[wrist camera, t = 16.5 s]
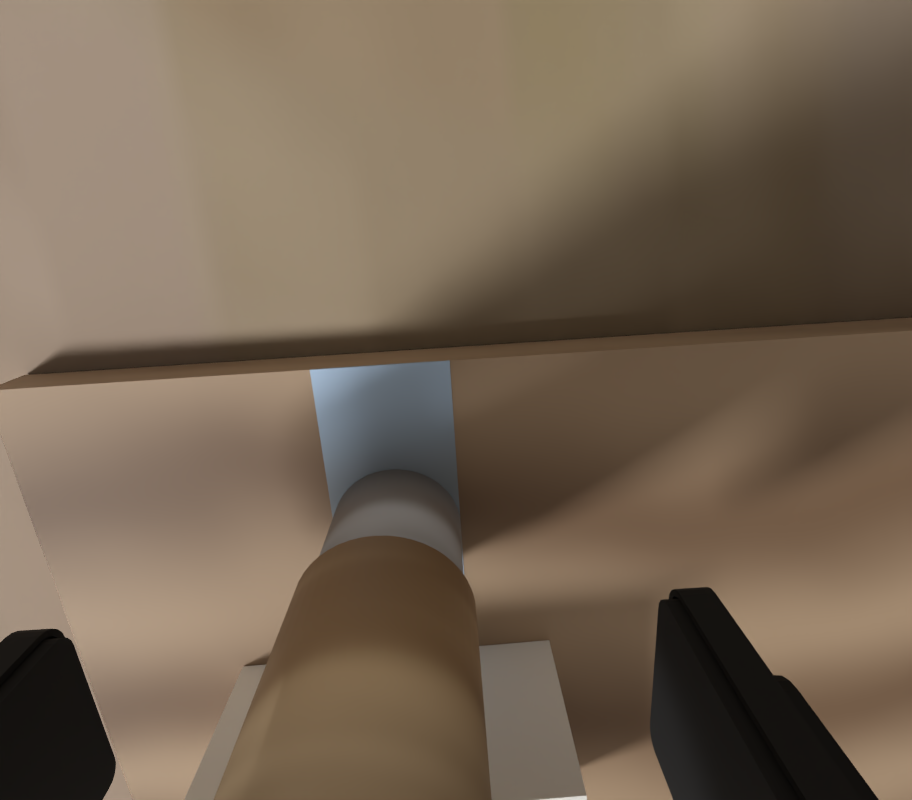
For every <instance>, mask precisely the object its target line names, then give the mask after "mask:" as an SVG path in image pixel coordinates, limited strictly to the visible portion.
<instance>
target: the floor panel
mask: <svg viewBox="0 0 912 800" xmlns="http://www.w3.org/2000/svg"><path fill="white" fill-rule="evenodd" d="M0 435H1V438H2V441H3V443H4V446H5V449H6V452H7V454H8V457H9V460H10V463H11V466H12V468H13V471H14V474H15V477H16V479H17V482H18V485H19V488H20V490H21V493H22V496H23V499H24V501H25V504H26V507H27V510H28V512H29V515H30V518H31V521H32V523H33V526H34V529H35V532H36V535H37V537H38V540H39V543H40V546H41V548H42V551H43V554H44V557H45V559H46V562H47V565H48V568H49V570H50V573H51V576H52V579H53V581H54V584H55V587H56V590H57V593H58V595H59V598H60V601H61V604H62V606H63V609H64V612H65V615H66V617H67V620H68V623H69V626H70V628H71V631H72V634H73V637H74V639H75V642H76V645H77V648H78V651H79V653H80V656H81V659H82V662H83V664H84V667H85V670H86V673H87V675H88V678H89V681H90V684H91V686H92V689H93V692H94V695H95V697H96V700H97V703H98V706H99V709H100V711H101V714H102V717H103V720H104V722H105V725H106V728H107V731H108V733H109V736H110V739H111V742H112V744H113V747H114V750H115V753H116V755H117V758H118V761H119V764H120V766H121V769H122V772H123V775H124V778H125V780H126V783H127V786H128V789H129V791H130V794H131V797H132V800H184V799H185V797H186V795H187V792H188V790H189V788H190V786H191V783H192V781H193V779H194V777H195V774H196V772H197V770H198V767H199V765H200V763H201V761H202V758H203V756H204V754H205V752H206V749H207V747H208V745H209V743H210V740H211V738H212V736H213V734H214V731H215V729H216V727H217V724H218V722H219V720H220V718H221V715H222V713H223V711H224V709H225V706H226V704H227V702H228V700H229V697H230V695H231V693H232V691H233V688H234V686H235V684H236V682H237V679H238V677H239V675H240V672H241V670H242V668H243V666H254V665H265V664H267V661H268V659H269V656H270V654H271V651H272V648H273V646H274V643H275V641H276V638H277V636H278V633H279V630H280V628H281V625H282V623H283V620H284V618H285V615H286V612H287V610H288V607H289V605H290V602H291V600H292V597H293V595H294V592H295V589H296V587H297V584H298V582H299V580H300V578H301V576H302V575H303V573H304V572H305V570H306V569H307V568H308V567H309V565H310V564H311V563H312V562H313V561H314V560H316V559H317V558H318V557H319V555H320V552H321V550H322V547H323V544H324V541H325V538H326V536H327V533H328V530H329V527H330V525H331V522H332V519H333V516H334V513H335V511H336V508H337V505H338V503H339V501H340V499H341V497H342V496H343V494H344V493H345V492H346V491H347V489H349V488H350V487H351V486H352V485H353V484H354V483H355V482H357V481H358V480H360V479H361V478H363V477H365V476H367V475H370V474H372V473H375V472H379V471H384V470H397V469H400V470H409V471H413V472H417V473H420V474H422V475H425V476H427V477H429V478H431V479H433V480H434V481H436V482H437V483H439V484H440V485H441V486H442V487H443V488H444V489H445V490H446V491H447V492H448V493H449V494H450V496H451V497H452V499H453V500H454V502H455V504H456V506H457V508H458V512H459V515H460V522H461V540H462V558H463V574H464V576H465V577H466V579H467V580H468V582H469V585H470V587H471V589H472V592H473V595H474V598H475V605H476V614H477V627H478V639H479V646H486V645H497V644H509V643H520V642H532V641H544V640H549V642H550V646H551V650H552V654H553V658H554V662H555V667H556V671H557V675H558V679H559V683H560V687H561V691H562V696H563V700H564V704H565V708H566V712H567V716H568V720H569V724H570V729H571V733H572V737H573V741H574V745H575V749H576V753H577V758H578V762H579V766H580V770H581V774H582V778H583V782H584V786H585V791H586V795H587V800H673V798H672V795H671V793H670V790H669V788H668V785H667V782H666V780H665V777H664V775H663V772H662V769H661V767H660V764H659V762H658V759H657V757H656V754H655V751H654V748H653V744H652V740H651V734H650V715H651V702H652V688H653V674H654V660H655V646H656V632H657V618H658V606H659V602H660V600H664V599H669V594H670V592H671V590H673V589H683V588H699V587H709V588H711V589H712V590H713V591H714V592H715V593H716V594H717V596H718V597H719V599H720V600H721V602H722V603H723V604H724V606H725V607H726V609H727V610H728V611H729V613H730V614H731V616H732V617H733V619H734V620H735V621H736V623H737V624H738V626H739V627H740V628H741V630H742V631H743V633H744V634H745V636H746V637H747V638H748V640H749V641H750V643H751V644H752V645H753V647H754V648H755V650H756V651H757V653H758V654H759V655H760V657H761V658H762V660H763V661H764V662H765V664H766V665H767V667H768V668H769V670H770V671H771V672H772V674H773V675H782V676H783V677H785V678H787V679H788V680H790V681H791V682H792V684H793V685H794V686H795V687H796V688H797V689H798V690H799V692H800V693H801V694H802V696H803V697H804V698H805V700H806V701H807V703H808V704H809V705H810V707H811V708H812V709H813V711H814V712H815V713H816V715H817V716H818V717H819V719H820V720H821V722H822V723H823V724H824V726H825V727H826V728H827V730H828V731H829V732H830V734H831V735H832V737H833V738H834V739H835V741H836V742H837V743H838V745H839V746H840V747H841V749H842V750H843V751H844V753H845V754H846V756H847V757H848V758H849V760H850V761H851V762H852V764H853V765H854V766H855V768H856V769H857V770H858V772H859V773H860V775H861V776H862V777H863V779H864V780H865V781H866V783H867V784H868V785H869V787H870V788H871V790H872V791H873V792H874V794H875V795H876V796H877V798H878V799H879V800H912V317H910V318H894V319H879V320H863V321H848V322H833V323H817V324H802V325H786V326H771V327H756V328H740V329H725V330H709V331H694V332H679V333H663V334H648V335H633V336H617V337H602V338H586V339H571V340H556V341H540V342H525V343H509V344H494V345H479V346H463V347H448V348H432V349H417V350H402V351H386V352H371V353H355V354H340V355H325V356H309V357H294V358H278V359H263V360H248V361H232V362H217V363H201V364H186V365H171V366H155V367H140V368H124V369H109V370H94V371H78V372H63V373H47V374H32V375H24V376H21V377H18V378H16V379H13V380H11V381H8V382H6V383H3V384H1V385H0Z"/></svg>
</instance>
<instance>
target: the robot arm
mask: <svg viewBox="0 0 912 800" xmlns="http://www.w3.org/2000/svg"><path fill="white" fill-rule="evenodd" d="M650 734H651V740H652V744H653V748H654V751H655V754H656V757H657V759H658V762H659V764H660V767H661V769H662V772H663V775H664V777H665V780H666V782H667V785H668V788H669V790H670V793H671V795H672V798H673V800H879V799H878V798H877V796H876V795H875V794H874V792H873V791H872V790H871V788H870V787H869V785H868V784H867V783H866V781H865V780H864V779H863V777H862V776H861V775H860V773H859V772H858V770H857V769H856V768H855V766H854V765H853V764H852V762H851V761H850V760H849V758H848V757H847V756H846V754H845V753H844V751H843V750H842V749H841V747H840V746H839V745H838V743H837V742H836V741H835V739H834V738H833V737H832V735H831V734H830V732H829V731H828V730H827V728H826V727H825V726H824V724H823V723H822V722H821V720H820V719H819V717H818V716H817V715H816V713H815V712H814V711H813V709H812V708H811V707H810V705H809V704H808V703H807V701H806V700H805V698H804V697H803V696H802V694H801V693H800V692H799V690H798V689H797V688H796V687H795V686H794V685H793V684H792V682H791V681H790V680H788V679H787V678H785V677H783V676H782V675H773V674H772V672H771V671H770V670H769V668H768V667H767V665H766V664H765V662H764V661H763V660H762V658H761V657H760V655H759V654H758V653H757V651H756V650H755V648H754V647H753V645H752V644H751V643H750V641H749V640H748V638H747V637H746V636H745V634H744V633H743V631H742V630H741V628H740V627H739V626H738V624H737V623H736V621H735V620H734V619H733V617H732V616H731V614H730V613H729V611H728V610H727V609H726V607H725V606H724V604H723V603H722V602H721V600H720V599H719V597H718V596H717V594H716V593H715V592H714V591H713V590H712V589H711V588H709V587H699V588H683V589H673V590H671V592H670V594H669V599H664V600H660V602H659V606H658V618H657V632H656V646H655V660H654V674H653V688H652V702H651V715H650ZM115 767H116V762H115V757H114V754H113V752H112V749H111V746H110V743H109V741H108V738H107V735H106V732H105V730H104V727H103V724H102V721H101V719H100V716H99V713H98V710H97V708H96V705H95V702H94V699H93V697H92V694H91V691H90V689H89V686H88V683H87V680H86V678H85V675H84V672H83V669H82V667H81V664H80V661H79V658H78V656H77V653H76V650H75V647H74V645H73V643H72V641H71V640H70V639H68V638H65V637H64V635H63V633H62V632H61V631H59V630H58V629H41V630H26V631H17V632H14V633H11V634H10V635H9V636H7V637H6V638H5V639H4V640H3V641H2V642H0V800H103V798H104V796H105V794H106V793H107V791H108V789H109V787H110V785H111V783H112V781H113V778H114V774H115Z"/></svg>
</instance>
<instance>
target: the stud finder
mask: <svg viewBox="0 0 912 800" xmlns="http://www.w3.org/2000/svg"><path fill="white" fill-rule="evenodd" d="M479 651H480V663H481V676H482V688H483V700H484V712H485V725H486V737H487V749H488V761H489V774H490V786H491V798H492V800H587V795H586V791H585V786H584V782H583V778H582V774H581V770H580V766H579V762H578V758H577V753H576V749H575V745H574V741H573V737H572V733H571V729H570V724H569V720H568V716H567V712H566V708H565V704H564V700H563V696H562V691H561V687H560V683H559V679H558V675H557V671H556V667H555V662H554V658H553V654H552V650H551V646H550V642H549V640H544V641H532V642H520V643H509V644H497V645H486V646H479ZM265 666H266V664H265V665H254V666H243V668H242V670H241V672H240V675H239V677H238V679H237V682H236V684H235V686H234V688H233V691H232V693H231V695H230V697H229V700H228V702H227V704H226V706H225V709H224V711H223V713H222V715H221V718H220V720H219V722H218V724H217V727H216V729H215V731H214V734H213V736H212V738H211V740H210V743H209V745H208V747H207V749H206V752H205V754H204V756H203V758H202V761H201V763H200V765H199V767H198V770H197V772H196V774H195V777H194V779H193V781H192V783H191V786H190V788H189V790H188V792H187V795H186V797H185V799H184V800H214V797H215V795H216V792H217V790H218V787H219V784H220V782H221V779H222V777H223V774H224V772H225V769H226V766H227V764H228V761H229V759H230V756H231V754H232V751H233V748H234V746H235V743H236V741H237V738H238V736H239V733H240V731H241V728H242V725H243V723H244V720H245V718H246V715H247V713H248V710H249V707H250V705H251V702H252V700H253V697H254V695H255V692H256V689H257V687H258V684H259V682H260V679H261V677H262V674H263V672H264V669H265Z"/></svg>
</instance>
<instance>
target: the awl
mask: <svg viewBox="0 0 912 800" xmlns="http://www.w3.org/2000/svg"><path fill="white" fill-rule="evenodd" d="M214 800H492V798H491V786H490V774H489V761H488V749H487V737H486V725H485V712H484V700H483V688H482V676H481V663H480V651H479V639H478V627H477V614H476V605H475V598H474V595H473V592H472V589H471V587H470V585H469V582H468V580H467V579H466V577H465V576H464V574H463V558H462V540H461V522H460V515H459V512H458V508H457V506H456V504H455V502H454V500H453V499H452V497H451V496H450V494H449V493H448V492H447V491H446V490H445V489H444V488H443V487H442V486H441V485H440V484H439V483H437V482H436V481H434V480H433V479H431V478H429V477H427V476H425V475H422V474H420V473H417V472H413V471H409V470H400V469H397V470H384V471H379V472H375V473H372V474H370V475H367V476H365V477H363V478H361V479H360V480H358V481H357V482H355V483H354V484H353V485H352V486H351V487H350V488H349V489H347V491H346V492H345V493H344V494H343V496H342V497H341V499H340V501H339V503H338V505H337V508H336V511H335V513H334V516H333V519H332V522H331V525H330V527H329V530H328V533H327V536H326V538H325V541H324V544H323V547H322V550H321V552H320V555H319V557H318V558H317V559H316V560H314V561H313V562H312V563H311V564H310V565H309V567H308V568H307V569H306V570H305V572H304V573H303V575H302V576H301V578H300V580H299V582H298V584H297V587H296V589H295V592H294V595H293V597H292V600H291V602H290V605H289V607H288V610H287V612H286V615H285V618H284V620H283V623H282V625H281V628H280V630H279V633H278V636H277V638H276V641H275V643H274V646H273V648H272V651H271V654H270V656H269V659H268V661H267V664H266V666H265V669H264V672H263V674H262V677H261V679H260V682H259V684H258V687H257V689H256V692H255V695H254V697H253V700H252V702H251V705H250V707H249V710H248V713H247V715H246V718H245V720H244V723H243V725H242V728H241V731H240V733H239V736H238V738H237V741H236V743H235V746H234V748H233V751H232V754H231V756H230V759H229V761H228V764H227V766H226V769H225V772H224V774H223V777H222V779H221V782H220V784H219V787H218V790H217V792H216V795H215V797H214Z"/></svg>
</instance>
